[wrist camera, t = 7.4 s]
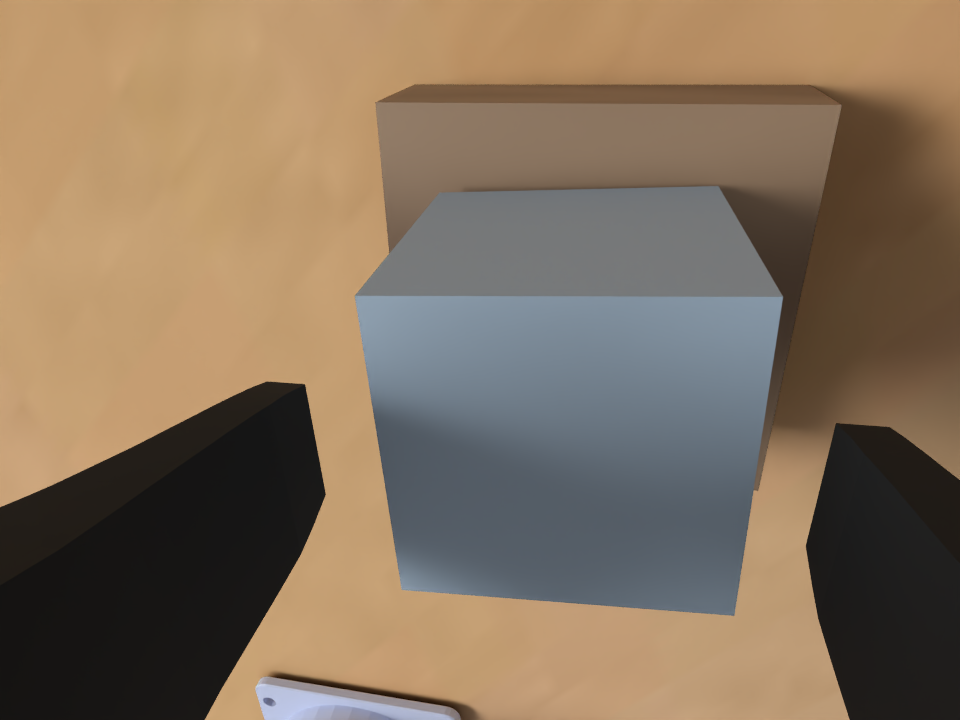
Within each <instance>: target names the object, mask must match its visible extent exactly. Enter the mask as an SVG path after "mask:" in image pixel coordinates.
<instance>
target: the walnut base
mask: <svg viewBox="0 0 960 720" xmlns="http://www.w3.org/2000/svg"><path fill="white" fill-rule="evenodd" d="M841 107H842V105H841V104H839V103H838V102H836V101H835V100H833V99H831V98H830V97H828V96H827V95H825V94H823V93H822V92H820V91H819V90H817V89H815V88H814V87H812V86H811V85H413V86H411V87H408V88H406V89H404V90H402V91H400V92H397V93H395V94H393V95H391V96H389V97H386V98H384V99H382V100H380V101H378V102H376V113H377V124H378V134H379V145H380V156H381V167H382V178H383V189H384V200H385V210H386V221H387V232H388V243H389V254H390V252H391V251H392V250H393V249H394V247H395V246H396V245H397V244H398V243H399V241H400V240H401V239H402V238H403V237H404V235H405V234H406V233H407V232H408V230H409V229H410V228H411V227H412V226H413V224H414V223H415V222H416V221H417V219H418V218H419V217H420V216H421V215H422V213H423V212H424V211H425V210H426V208H427V207H428V206H429V205H430V204H431V202H432V201H433V200H434V199H435V197H436V196H437V195H438V194H439V193H445V192H487V191H529V190H571V189H613V188H656V187H698V186H719V188H720V190H721V191H722V193H723V195H724V197H725V198H726V200H727V202H728V203H729V205H730V207H731V209H732V210H733V212H734V214H735V215H736V217H737V219H738V221H739V222H740V224H741V226H742V227H743V229H744V231H745V233H746V234H747V236H748V238H749V239H750V241H751V243H752V245H753V246H754V248H755V250H756V251H757V253H758V255H759V257H760V258H761V260H762V262H763V263H764V265H765V267H766V269H767V270H768V272H769V274H770V275H771V277H772V279H773V281H774V282H775V284H776V286H777V287H778V289H779V291H780V293H781V294H782V296H783V301H782V307H781V314H780V320H779V327H778V333H777V340H776V346H775V353H774V359H773V366H772V372H771V379H770V386H769V392H768V399H767V405H766V412H765V418H764V425H763V431H762V438H761V444H760V451H759V457H758V464H757V470H756V477H755V483H754V490H756V491H758V489H759V485H760V480H761V476H762V471H763V466H764V462H765V457H766V453H767V448H768V443H769V439H770V434H771V429H772V425H773V420H774V416H775V411H776V406H777V402H778V397H779V393H780V388H781V383H782V379H783V374H784V370H785V365H786V360H787V356H788V351H789V346H790V342H791V337H792V333H793V328H794V323H795V319H796V314H797V310H798V305H799V300H800V296H801V291H802V287H803V282H804V277H805V273H806V268H807V264H808V259H809V254H810V250H811V245H812V240H813V236H814V231H815V227H816V222H817V217H818V213H819V208H820V204H821V199H822V194H823V190H824V185H825V181H826V176H827V171H828V167H829V162H830V157H831V153H832V148H833V144H834V139H835V134H836V130H837V125H838V121H839V116H840V111H841Z"/></svg>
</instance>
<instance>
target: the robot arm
mask: <svg viewBox="0 0 960 720" xmlns="http://www.w3.org/2000/svg"><path fill="white" fill-rule="evenodd" d="M325 495H326V494H325V488H324V483H323V478H322V472H321V467H320V462H319V457H318V451H317V446H316V441H315V435H314V430H313V425H312V419H311V414H310V409H309V403H308V398H307V393H306V387H305V384H293V383H279V382H265V383H262V384H260V385H257V386H254V387H252V388H250V389H247V390H245V391H243V392H241V393H239V394H237V395H234V396H232V397H230V398H228V399H226V400H224V401H222V402H220V403H218V404H216V405H214V406H212V407H210V408H208V409H206V410H204V411H202V412H200V413H198V414H197V415H195V416H193V417H191V418H189V419H187V420H185V421H183V422H181V423H179V424H177V425H175V426H173V427H171V428H169V429H167V430H165V431H163V432H161V433H159V434H157V435H156V436H154V437H152V438H150V439H148V440H146V441H144V442H142V443H140V444H138V445H136V446H134V447H132V448H130V449H128V450H126V451H124V452H121V453H119V454H117V455H115V456H113V457H111V458H109V459H107V460H105V461H103V462H100V463H98V464H96V465H94V466H92V467H90V468H88V469H86V470H84V471H81V472H79V473H77V474H75V475H73V476H71V477H69V478H67V479H65V480H63V481H60V482H58V483H56V484H54V485H52V486H49V487H47V488H45V489H43V490H40V491H38V492H36V493H33V494H31V495H29V496H26V497H24V498H22V499H19V500H17V501H14V502H12V503H10V504H7V505H5V506H2V507H0V720H205V718H206V716H207V715H208V713H209V711H210V709H211V707H212V705H213V703H214V702H215V700H216V698H217V696H218V694H219V692H220V691H221V689H222V687H223V685H224V684H225V682H226V680H227V679H228V677H229V675H230V674H231V672H232V670H233V669H234V667H235V665H236V664H237V662H238V660H239V659H240V657H241V655H242V654H243V652H244V650H245V648H246V647H247V645H248V643H249V642H250V640H251V638H252V637H253V635H254V633H255V632H256V630H257V628H258V627H259V625H260V623H261V622H262V620H263V618H264V617H265V615H266V613H267V612H268V610H269V608H270V607H271V605H272V603H273V602H274V600H275V598H276V596H277V595H278V593H279V591H280V590H281V588H282V586H283V584H284V583H285V581H286V579H287V578H288V576H289V574H290V572H291V571H292V569H293V567H294V565H295V564H296V562H297V560H298V558H299V557H300V555H301V553H302V551H303V548H304V546H305V544H306V542H307V539H308V537H309V535H310V532H311V530H312V528H313V525H314V523H315V520H316V518H317V515H318V513H319V510H320V508H321V505H322V503H323V500H324V498H325ZM806 550H807V556H808V562H809V569H810V575H811V581H812V587H813V593H814V598H815V603H816V609H817V614H818V619H819V622H820V626H821V629H822V633H823V636H824V639H825V642H826V646H827V649H828V652H829V655H830V659H831V662H832V665H833V668H834V671H835V675H836V678H837V681H838V684H839V687H840V691H841V694H842V697H843V700H844V703H845V706H846V709H847V713H848V716H849V719H850V720H960V480H959V479H957V478H956V477H955V476H954V475H952V474H951V473H950V472H949V471H947V470H946V469H945V468H943V467H942V466H941V465H940V464H938V463H937V462H936V461H935V460H933V459H932V458H931V457H929V456H928V455H927V454H926V453H924V452H923V451H922V450H920V449H919V448H918V447H916V446H915V445H914V444H913V443H911V442H910V441H909V440H907V439H906V438H904V437H903V436H902V435H900V434H899V433H897V432H896V431H894V430H893V429H891V428H890V427H880V426H866V425H853V424H839V423H836V426H835V430H834V434H833V438H832V442H831V446H830V450H829V454H828V458H827V462H826V467H825V471H824V475H823V479H822V483H821V487H820V491H819V495H818V499H817V503H816V507H815V511H814V515H813V519H812V523H811V527H810V531H809V535H808V539H807V543H806ZM256 693H257V696H258V699H259V703H260V706H261V709H262V712H263V716H264V719H265V720H461V717H460V715H459V713H458V712H457V711H456V710H455V709H453V708H451V707H447V706H442V705H436V704H430V703H424V702H418V701H412V700H406V699H400V698H394V697H388V696H382V695H376V694H370V693H364V692H358V691H352V690H346V689H340V688H334V687H328V686H322V685H316V684H310V683H304V682H298V681H292V680H286V679H280V678H274V677H263V678H261V679H260V680H259V682H258V684H257V686H256Z"/></svg>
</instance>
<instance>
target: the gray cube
mask: <svg viewBox="0 0 960 720" xmlns="http://www.w3.org/2000/svg"><path fill="white" fill-rule="evenodd" d="M355 300H356V306H357V312H358V319H359V325H360V331H361V337H362V344H363V350H364V356H365V362H366V369H367V375H368V381H369V388H370V394H371V400H372V406H373V413H374V419H375V425H376V431H377V438H378V444H379V450H380V456H381V463H382V469H383V475H384V481H385V488H386V494H387V500H388V506H389V513H390V519H391V525H392V531H393V538H394V544H395V550H396V556H397V563H398V569H399V575H400V581H401V588H402V590H411V591H424V592H436V593H449V594H462V595H475V596H488V597H501V598H514V599H526V600H539V601H552V602H565V603H578V604H591V605H604V606H617V607H629V608H642V609H655V610H668V611H681V612H694V613H707V614H719V615H732V616H734V614H735V607H736V601H737V594H738V588H739V581H740V575H741V568H742V562H743V555H744V549H745V542H746V536H747V529H748V523H749V516H750V510H751V503H752V496H753V490H754V483H755V477H756V470H757V464H758V457H759V451H760V444H761V438H762V431H763V425H764V418H765V412H766V405H767V399H768V392H769V386H770V379H771V372H772V366H773V359H774V353H775V346H776V340H777V333H778V327H779V320H780V314H781V307H782V301H783V296H782V294H781V293H780V291H779V289H778V287H777V286H776V284H775V282H774V281H773V279H772V277H771V275H770V274H769V272H768V270H767V269H766V267H765V265H764V263H763V262H762V260H761V258H760V257H759V255H758V253H757V251H756V250H755V248H754V246H753V245H752V243H751V241H750V239H749V238H748V236H747V234H746V233H745V231H744V229H743V227H742V226H741V224H740V222H739V221H738V219H737V217H736V215H735V214H734V212H733V210H732V209H731V207H730V205H729V203H728V202H727V200H726V198H725V197H724V195H723V193H722V191H721V190H720V188H719V186H698V187H656V188H613V189H571V190H529V191H487V192H445V193H439V194H438V195H437V196H436V197H435V199H434V200H433V201H432V202H431V204H430V205H429V206H428V207H427V208H426V210H425V211H424V212H423V213H422V215H421V216H420V217H419V218H418V219H417V221H416V222H415V223H414V224H413V226H412V227H411V228H410V229H409V230H408V232H407V233H406V234H405V235H404V237H403V238H402V239H401V240H400V241H399V243H398V244H397V245H396V246H395V247H394V249H393V250H392V251H391V252H390V254H389V255H388V256H387V257H386V258H385V260H384V261H383V262H382V263H381V265H380V266H379V267H378V268H377V269H376V271H375V272H374V273H373V274H372V276H371V277H370V278H369V279H368V280H367V282H366V283H365V284H364V285H363V287H362V288H361V289H360V290H359V291H358V293H357V294H356V295H355Z"/></svg>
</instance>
